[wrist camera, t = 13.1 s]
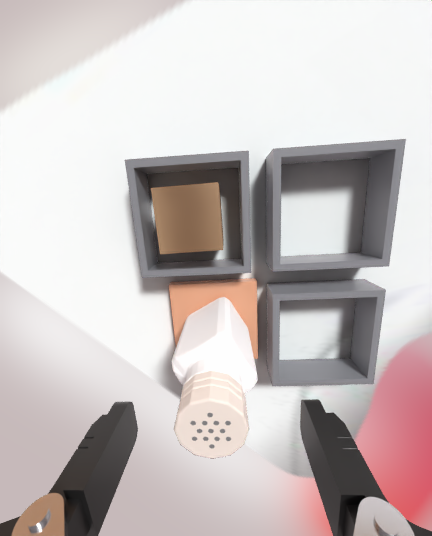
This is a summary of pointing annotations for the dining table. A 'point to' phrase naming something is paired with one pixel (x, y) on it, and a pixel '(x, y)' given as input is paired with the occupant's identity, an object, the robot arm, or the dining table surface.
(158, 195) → the walnut cube
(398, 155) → the empty bin
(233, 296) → the terracotta pad
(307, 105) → the dining table surface
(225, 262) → the bin with cube
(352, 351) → the shaker bin
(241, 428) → the salt shaker
